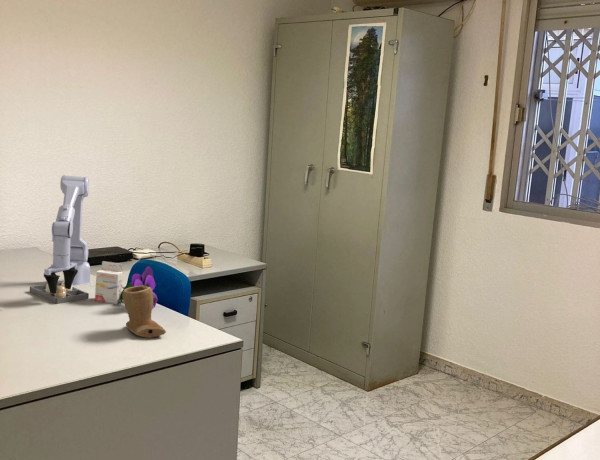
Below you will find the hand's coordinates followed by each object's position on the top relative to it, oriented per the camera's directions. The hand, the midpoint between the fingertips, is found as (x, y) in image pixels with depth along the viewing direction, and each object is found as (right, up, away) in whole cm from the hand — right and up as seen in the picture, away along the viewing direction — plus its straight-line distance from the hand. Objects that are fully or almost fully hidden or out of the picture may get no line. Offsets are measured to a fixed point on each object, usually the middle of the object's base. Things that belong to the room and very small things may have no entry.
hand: (60, 290), depth 236 cm
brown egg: (0, -4, 0) cm, 4 cm away
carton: (-3, -3, +7) cm, 8 cm away
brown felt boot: (+35, -12, -24) cm, 44 cm away
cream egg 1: (-5, -2, +4) cm, 7 cm away
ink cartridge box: (+16, -5, +6) cm, 17 cm away
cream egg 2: (-1, -2, +9) cm, 9 cm away
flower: (+26, -6, +3) cm, 27 cm away
